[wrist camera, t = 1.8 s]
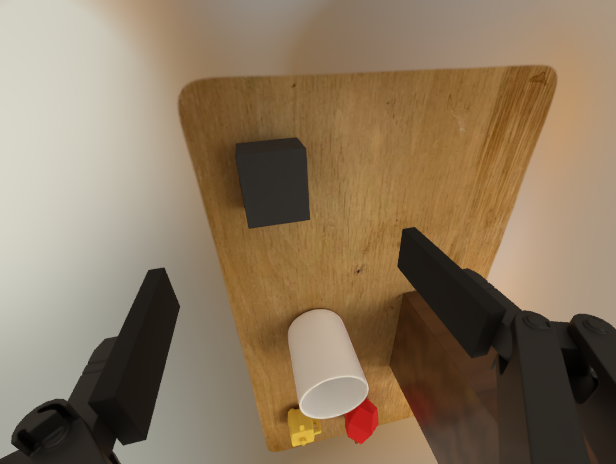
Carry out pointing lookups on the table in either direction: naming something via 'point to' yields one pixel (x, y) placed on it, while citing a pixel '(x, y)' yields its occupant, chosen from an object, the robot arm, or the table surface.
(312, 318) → the mug
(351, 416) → the apple
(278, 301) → the table surface
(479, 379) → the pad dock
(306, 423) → the teapot
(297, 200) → the pad
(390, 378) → the table surface
